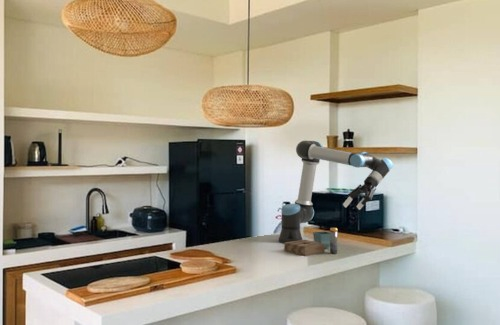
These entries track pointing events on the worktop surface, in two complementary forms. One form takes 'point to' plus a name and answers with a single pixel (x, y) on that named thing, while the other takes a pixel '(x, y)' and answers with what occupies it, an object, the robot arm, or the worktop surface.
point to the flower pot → (322, 238)
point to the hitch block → (304, 247)
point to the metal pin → (333, 240)
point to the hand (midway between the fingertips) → (350, 207)
